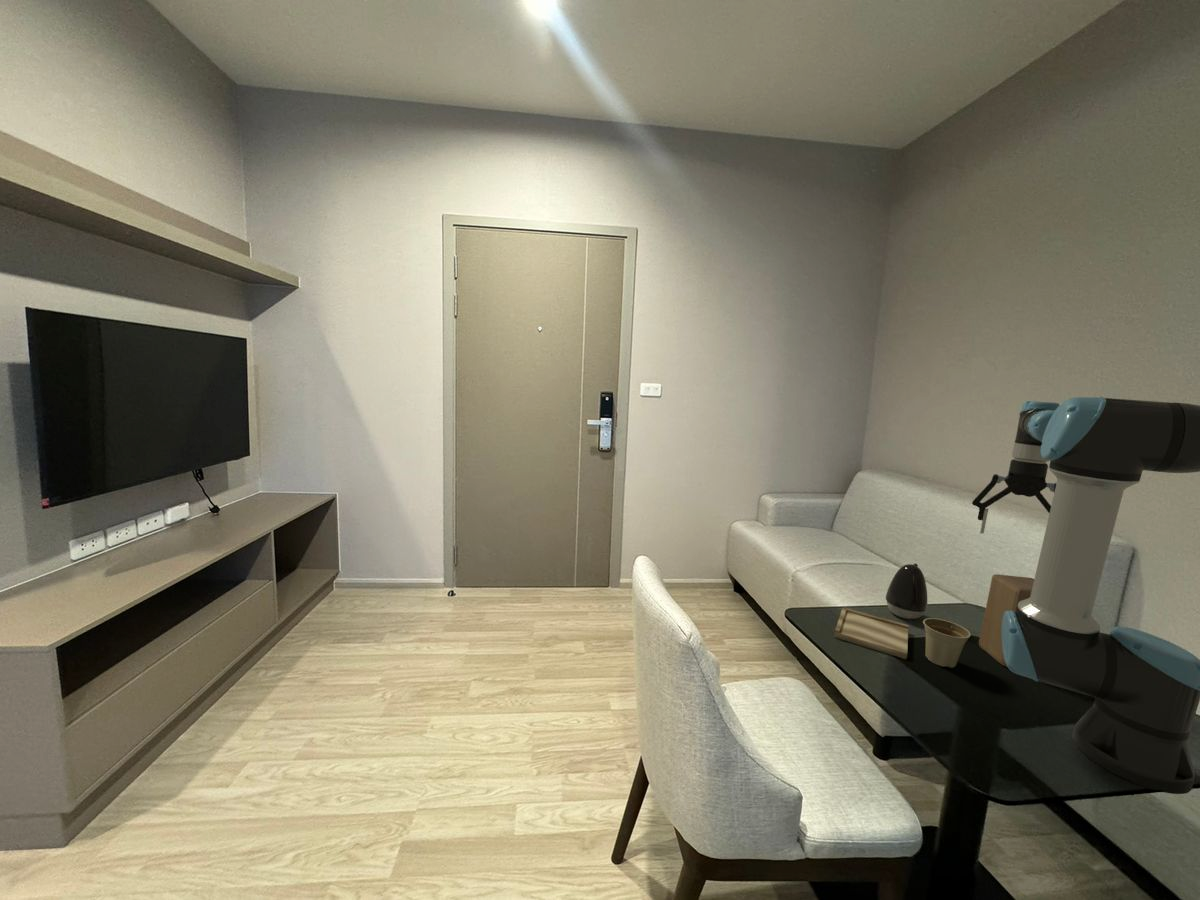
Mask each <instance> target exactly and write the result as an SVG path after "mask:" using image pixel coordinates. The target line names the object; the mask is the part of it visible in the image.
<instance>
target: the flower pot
mask: <svg viewBox="0 0 1200 900" xmlns="http://www.w3.org/2000/svg"><path fill="white" fill-rule="evenodd" d="M922 624H923V625H924V630H925V657H926V658H927V659H928V661H930V663H932V664H934V665H938V666H940V667H949V668H952V669H953V668H955V667H956V666H957V664H958V661H959V658H960V657H961V653H962V651H963V648H964V645H965V643H967V641H968V639H969V638H971V635H972V634H971V632H970V631H969V630H968V629H967V628H965V626H964V627H963V625H960V624H957V623H955V622H952V621H948V620H945V619H941V618H936V617H935V618H934V617H929V618H927V617H926V618H925V619H923V621H922Z"/></svg>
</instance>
